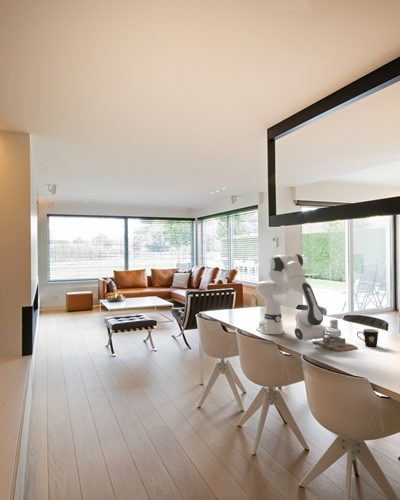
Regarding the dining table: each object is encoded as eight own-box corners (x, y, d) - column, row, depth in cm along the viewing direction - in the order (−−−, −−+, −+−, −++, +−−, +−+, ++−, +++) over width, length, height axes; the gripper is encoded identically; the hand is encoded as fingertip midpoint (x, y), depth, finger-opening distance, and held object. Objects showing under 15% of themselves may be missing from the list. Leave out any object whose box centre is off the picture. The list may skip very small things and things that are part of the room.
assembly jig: (312, 343, 223) (312, 335, 223) (330, 340, 229) (330, 332, 230) (338, 352, 203) (337, 343, 203) (357, 348, 209) (357, 340, 209)
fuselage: (328, 341, 217) (328, 319, 217) (334, 340, 219) (333, 319, 219) (334, 343, 213) (333, 320, 213) (339, 342, 215) (339, 320, 215)
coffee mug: (380, 346, 215) (380, 330, 215) (375, 348, 209) (375, 332, 209) (361, 342, 223) (361, 327, 223) (356, 345, 217) (356, 329, 217)
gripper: (330, 329, 202) (347, 327, 207) (307, 323, 220) (323, 321, 226) (330, 340, 202) (348, 337, 207) (307, 332, 220) (323, 330, 226)
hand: (335, 329), depth 217 cm, fingers closed on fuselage, 4 cm apart
